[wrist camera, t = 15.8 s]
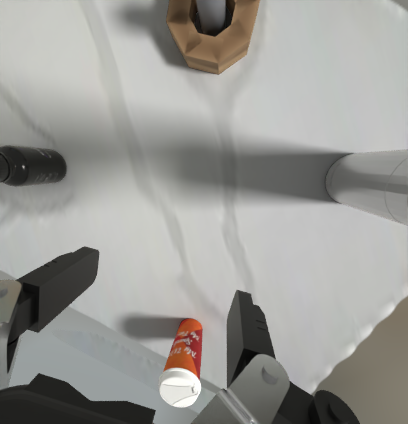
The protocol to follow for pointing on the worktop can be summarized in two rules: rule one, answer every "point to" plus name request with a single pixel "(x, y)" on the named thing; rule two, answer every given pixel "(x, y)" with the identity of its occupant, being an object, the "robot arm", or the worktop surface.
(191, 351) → the paper cup
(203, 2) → the dowel
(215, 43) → the brown wooden ring
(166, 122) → the worktop surface
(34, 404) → the robot arm
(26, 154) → the supplement bottle
